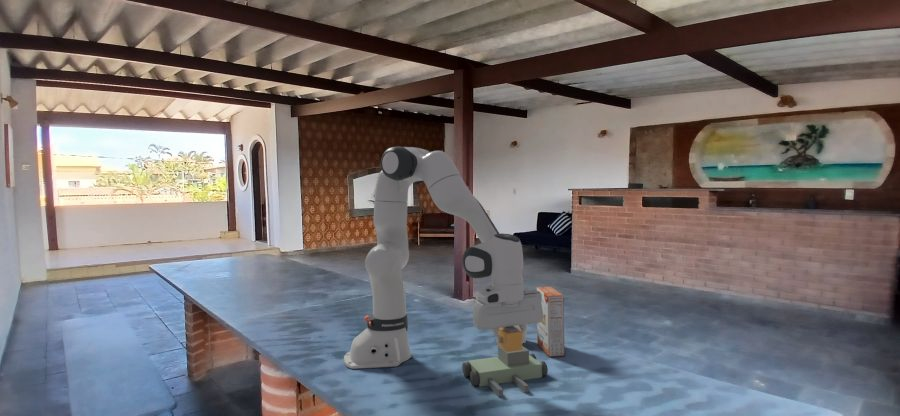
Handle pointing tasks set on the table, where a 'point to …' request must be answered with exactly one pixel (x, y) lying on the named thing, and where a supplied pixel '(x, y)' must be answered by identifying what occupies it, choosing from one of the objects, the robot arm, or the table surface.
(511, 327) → the orange block grey plate
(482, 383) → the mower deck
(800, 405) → the table surface
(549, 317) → the cracker box
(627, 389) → the table surface
